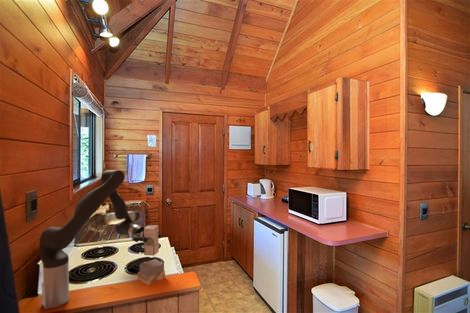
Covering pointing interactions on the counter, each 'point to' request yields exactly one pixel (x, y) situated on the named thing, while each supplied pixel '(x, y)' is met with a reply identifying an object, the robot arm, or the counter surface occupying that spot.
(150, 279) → the tower base
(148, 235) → the pinkish brown brick pillar
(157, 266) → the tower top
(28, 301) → the counter surface
